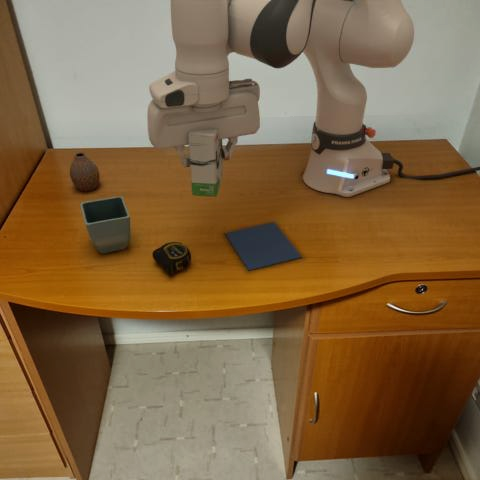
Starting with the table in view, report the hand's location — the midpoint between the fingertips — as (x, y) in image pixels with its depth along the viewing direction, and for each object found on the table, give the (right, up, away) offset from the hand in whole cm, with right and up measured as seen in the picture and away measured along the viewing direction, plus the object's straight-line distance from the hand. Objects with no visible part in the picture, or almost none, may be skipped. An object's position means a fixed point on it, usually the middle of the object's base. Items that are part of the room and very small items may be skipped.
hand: (206, 162), depth 90 cm
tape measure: (-8, -19, +8) cm, 22 cm away
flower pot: (-21, -14, +14) cm, 29 cm away
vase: (-32, +4, +31) cm, 45 cm away
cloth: (+11, -14, +13) cm, 22 cm away
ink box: (0, -4, +3) cm, 5 cm away
